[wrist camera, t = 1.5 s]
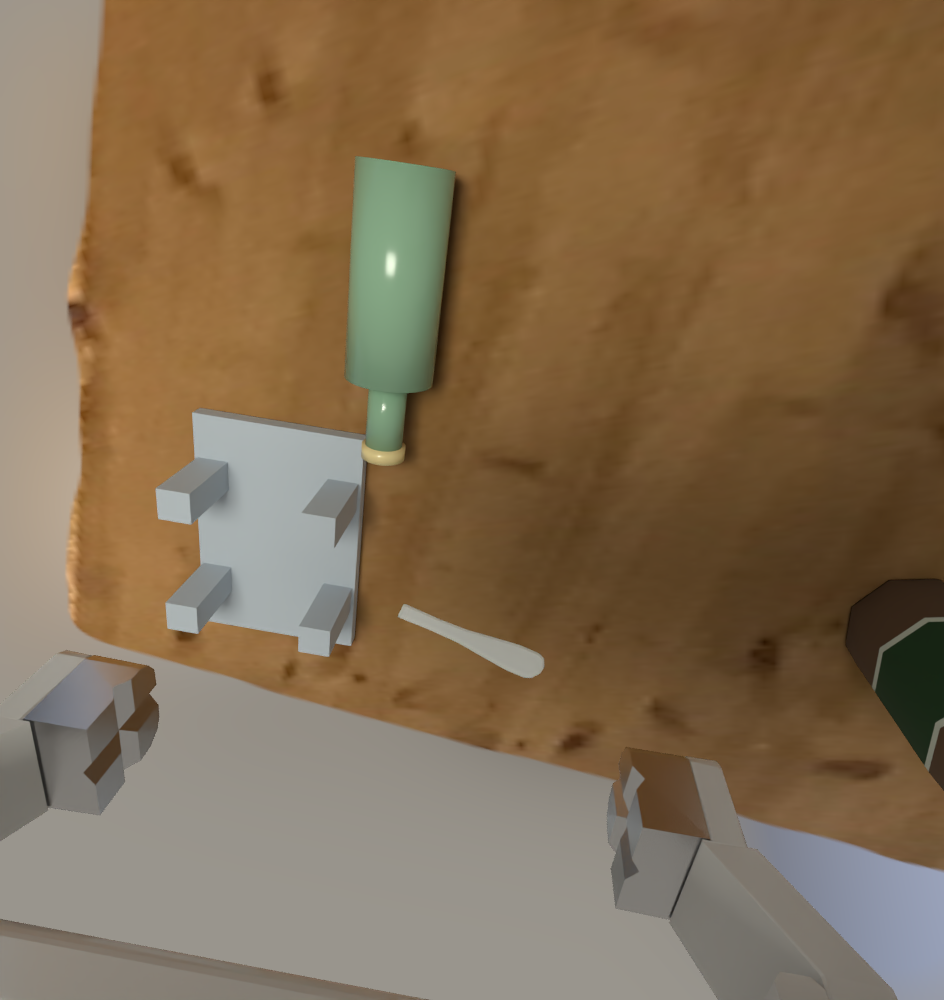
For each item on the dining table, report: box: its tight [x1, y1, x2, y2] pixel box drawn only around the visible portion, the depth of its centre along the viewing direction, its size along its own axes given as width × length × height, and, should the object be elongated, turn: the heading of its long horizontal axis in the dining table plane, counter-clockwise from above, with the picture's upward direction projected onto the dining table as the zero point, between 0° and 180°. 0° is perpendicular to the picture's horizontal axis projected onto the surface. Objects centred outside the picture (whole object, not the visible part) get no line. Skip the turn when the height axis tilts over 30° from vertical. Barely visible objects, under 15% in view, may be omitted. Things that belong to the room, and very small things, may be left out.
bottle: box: [344, 156, 456, 466], centre depth 36 cm, size 16×5×5 cm, turn 172°
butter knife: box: [398, 604, 544, 678], centre depth 47 cm, size 1×24×3 cm
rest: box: [156, 408, 367, 657], centre depth 42 cm, size 16×11×6 cm
